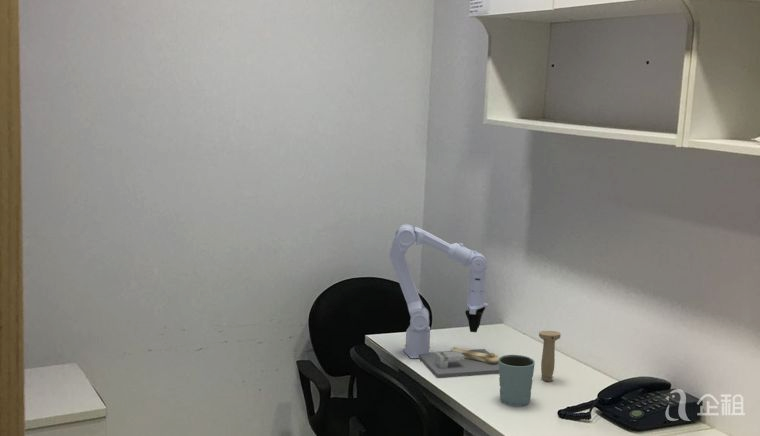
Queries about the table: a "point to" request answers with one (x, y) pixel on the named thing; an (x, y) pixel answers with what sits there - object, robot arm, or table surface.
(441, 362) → the block
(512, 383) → the teal cup
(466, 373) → the board
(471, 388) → the table surface
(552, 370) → the handle
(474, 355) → the link
